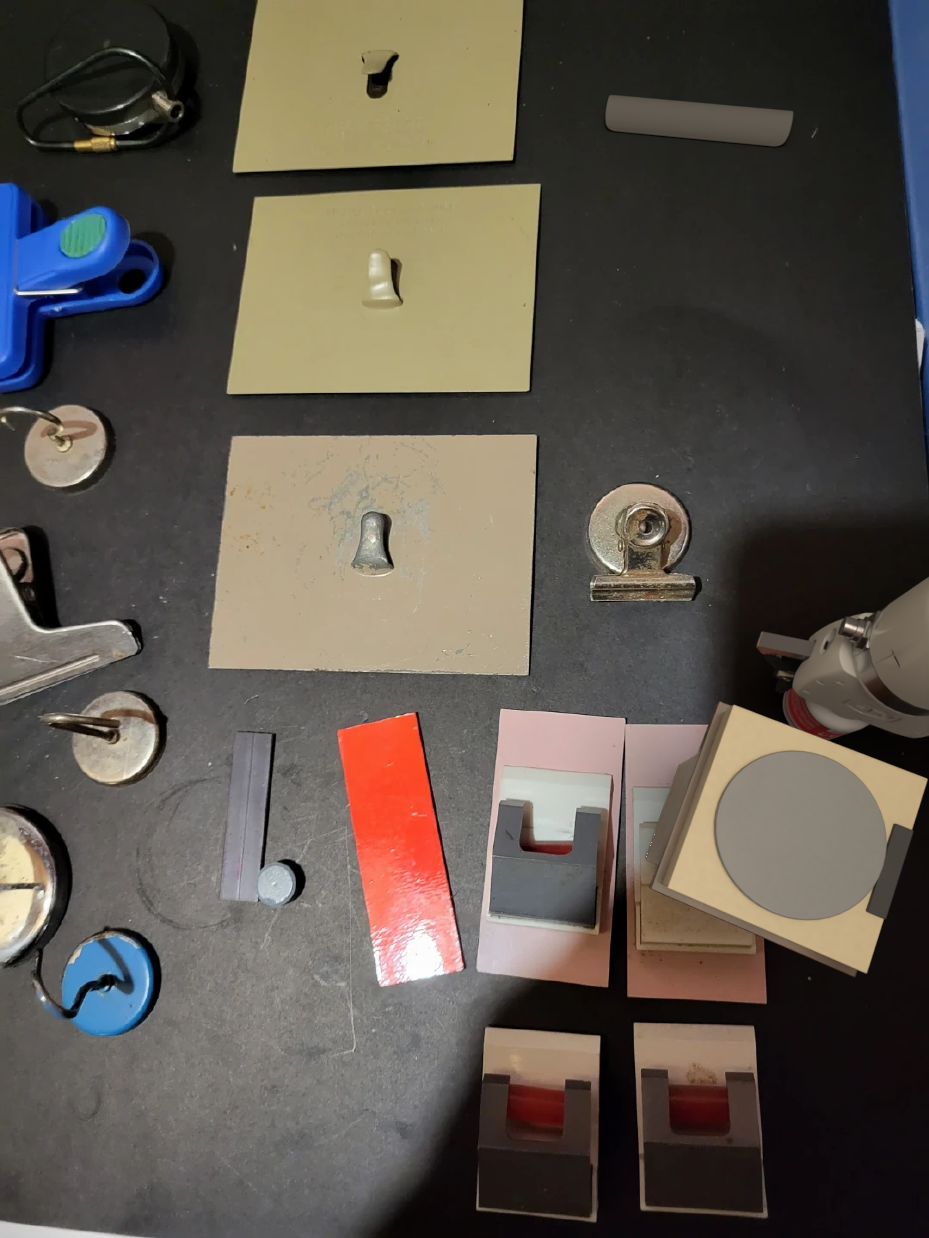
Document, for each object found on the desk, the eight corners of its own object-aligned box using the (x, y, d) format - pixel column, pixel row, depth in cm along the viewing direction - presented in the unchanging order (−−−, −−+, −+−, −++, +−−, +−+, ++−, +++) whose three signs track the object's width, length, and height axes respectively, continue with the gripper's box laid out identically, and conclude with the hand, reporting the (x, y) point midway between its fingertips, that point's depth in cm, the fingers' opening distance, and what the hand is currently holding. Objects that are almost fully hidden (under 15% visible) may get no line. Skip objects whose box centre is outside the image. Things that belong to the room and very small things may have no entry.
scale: (907, 781, 51) (932, 778, 47) (849, 965, 49) (870, 975, 45) (724, 711, 53) (735, 702, 49) (661, 884, 51) (668, 888, 47)
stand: (799, 794, 77) (918, 776, 51) (754, 925, 75) (855, 977, 49) (668, 742, 79) (719, 700, 53) (622, 868, 77) (650, 888, 51)
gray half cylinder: (609, 99, 96) (610, 85, 94) (791, 115, 93) (795, 102, 91) (602, 131, 95) (603, 118, 93) (785, 148, 92) (790, 135, 90)
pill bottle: (803, 752, 77) (841, 740, 67) (768, 691, 79) (799, 670, 68) (865, 722, 77) (913, 705, 67) (829, 662, 79) (870, 636, 68)
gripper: (767, 660, 56) (720, 698, 73) (1047, 763, 53) (930, 779, 70) (804, 556, 57) (750, 617, 74) (1079, 651, 54) (957, 693, 71)
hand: (837, 695), depth 72 cm, fingers open, 8 cm apart
